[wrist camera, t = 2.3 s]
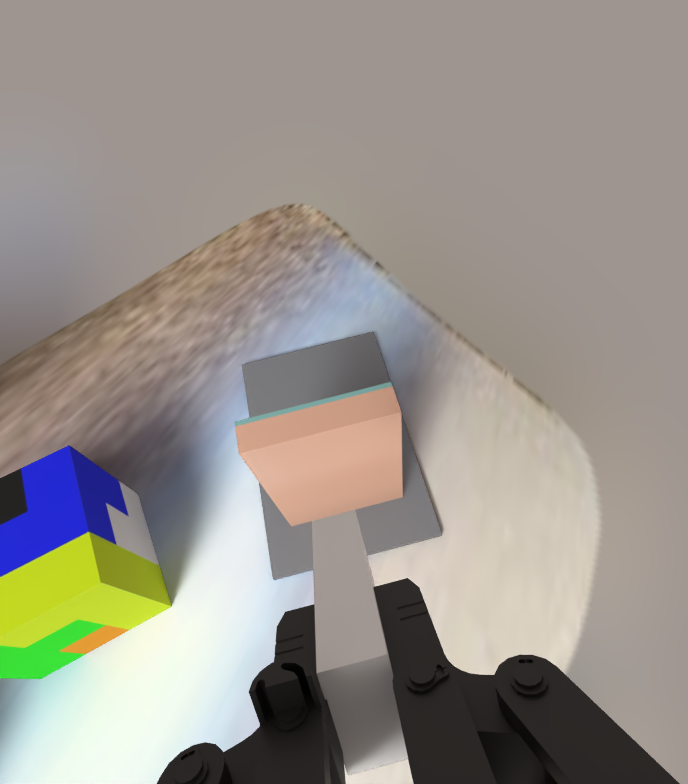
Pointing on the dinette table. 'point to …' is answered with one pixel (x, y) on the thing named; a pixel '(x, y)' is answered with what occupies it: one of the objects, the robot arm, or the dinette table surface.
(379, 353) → the mat
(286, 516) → the tile
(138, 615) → the puzzle toy
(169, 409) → the dinette table surface
